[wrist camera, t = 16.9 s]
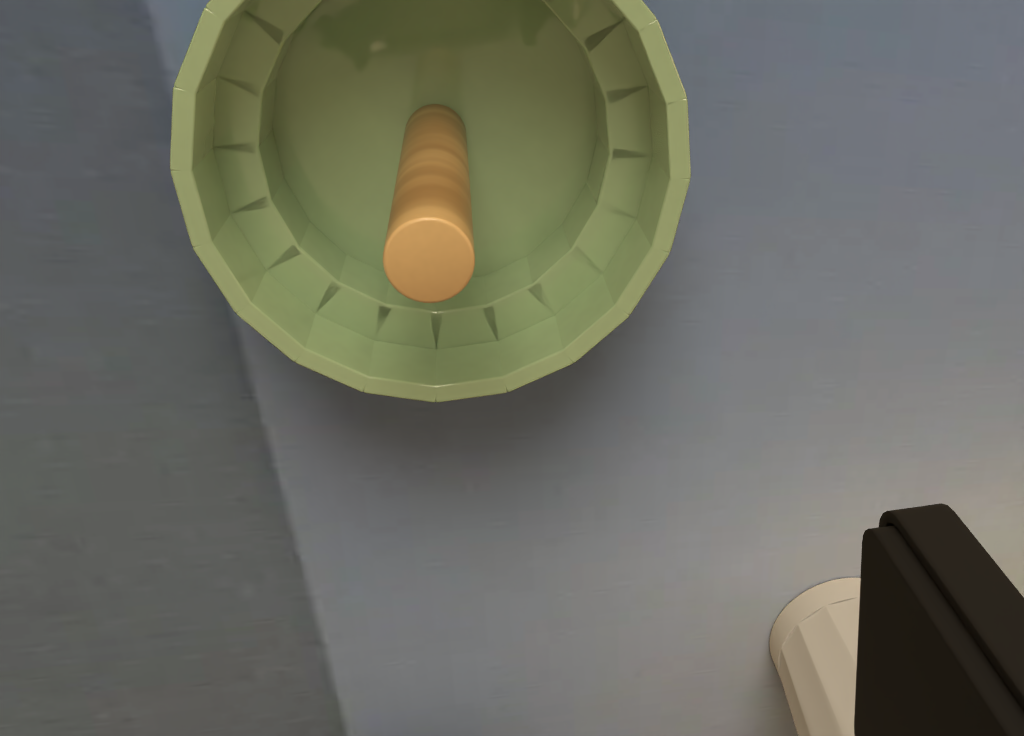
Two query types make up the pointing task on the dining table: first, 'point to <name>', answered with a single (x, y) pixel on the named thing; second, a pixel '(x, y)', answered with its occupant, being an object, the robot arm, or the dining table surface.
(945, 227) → the dining table surface
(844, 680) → the cup
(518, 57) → the bowl
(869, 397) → the dining table surface
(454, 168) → the stick
